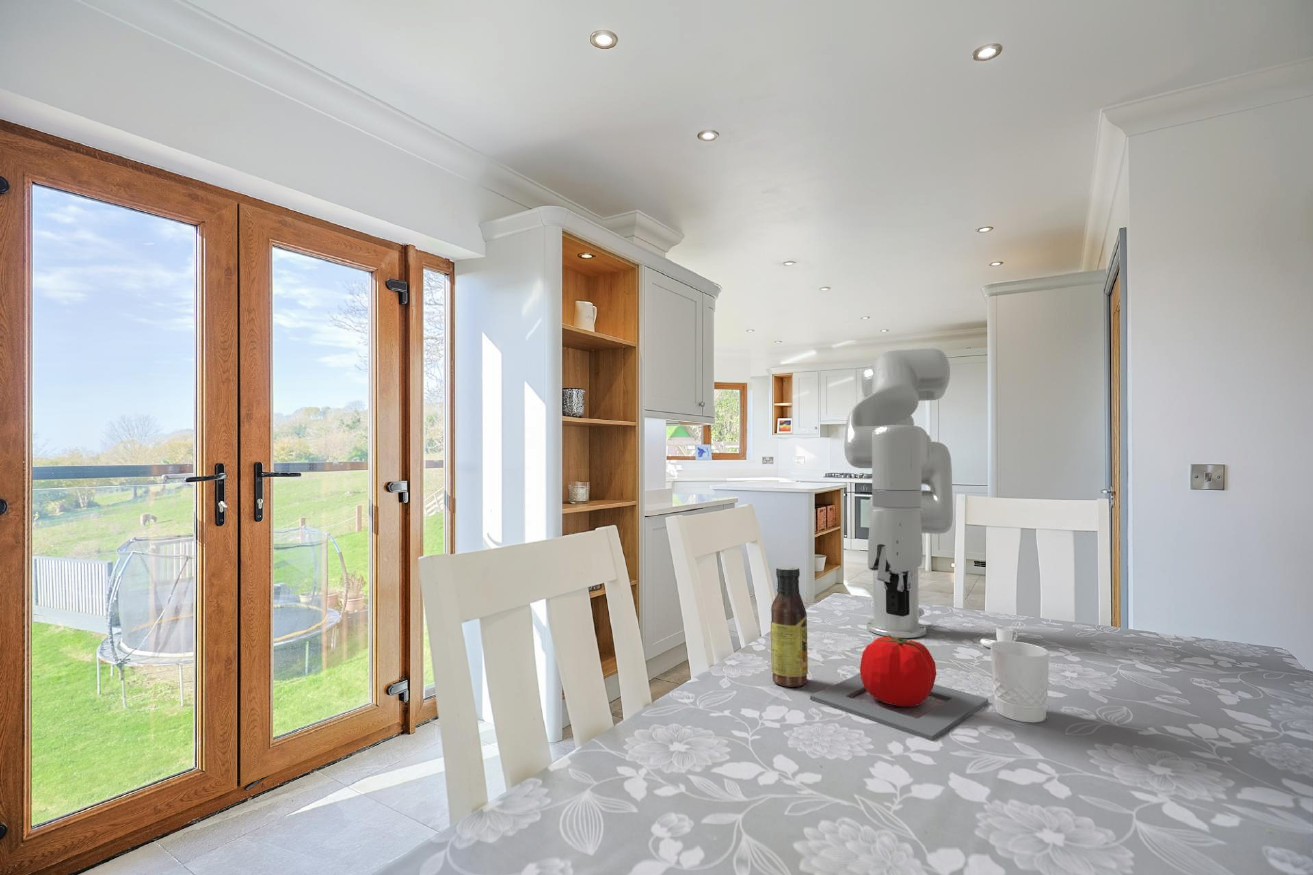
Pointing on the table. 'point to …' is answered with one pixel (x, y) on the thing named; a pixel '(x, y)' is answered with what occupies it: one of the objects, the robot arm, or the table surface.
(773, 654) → the sauce bottle
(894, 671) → the tomato
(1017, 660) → the white cup
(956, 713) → the gray picture frame
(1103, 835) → the table surface
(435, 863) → the table surface
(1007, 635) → the teacup and saucer
